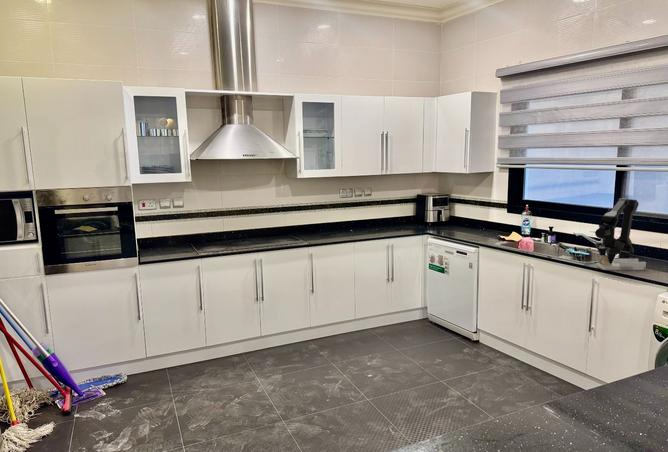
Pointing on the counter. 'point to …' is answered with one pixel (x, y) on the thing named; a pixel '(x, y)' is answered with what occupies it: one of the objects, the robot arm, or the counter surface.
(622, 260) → the trap channel
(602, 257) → the wooden block
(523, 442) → the counter surface
